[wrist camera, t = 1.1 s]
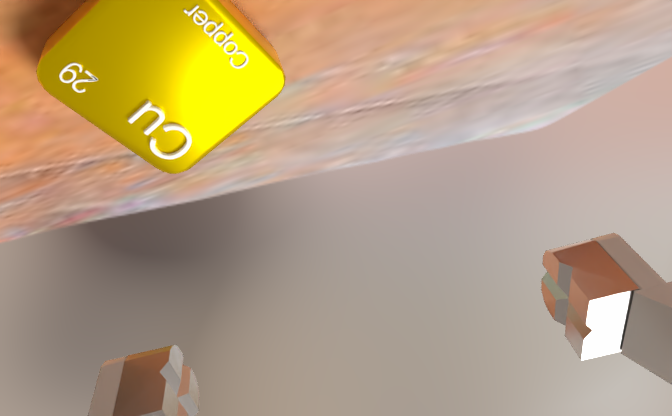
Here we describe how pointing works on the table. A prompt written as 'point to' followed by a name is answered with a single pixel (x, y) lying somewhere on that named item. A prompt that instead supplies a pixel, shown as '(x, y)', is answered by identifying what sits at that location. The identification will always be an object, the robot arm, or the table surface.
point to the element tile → (162, 74)
